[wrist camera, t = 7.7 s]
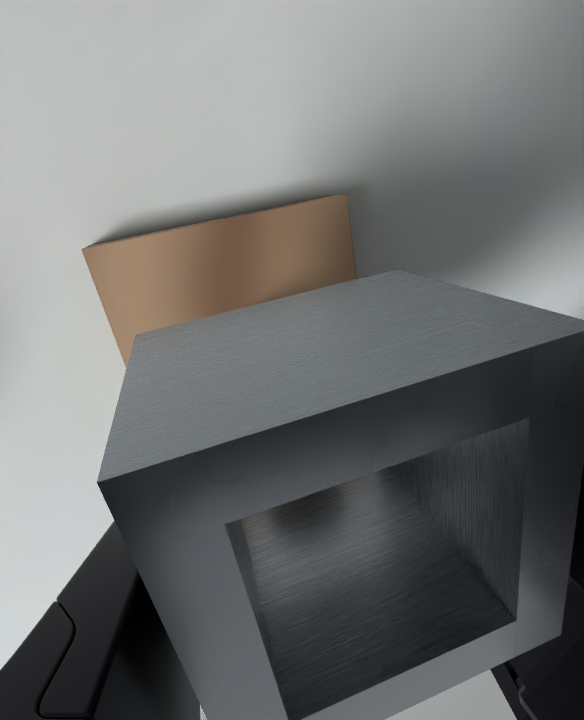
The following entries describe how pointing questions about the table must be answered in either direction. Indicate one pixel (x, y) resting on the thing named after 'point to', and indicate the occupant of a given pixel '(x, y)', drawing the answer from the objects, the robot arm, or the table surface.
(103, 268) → the post stand
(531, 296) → the table surface
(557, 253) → the table surface
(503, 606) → the grey square sleeve
